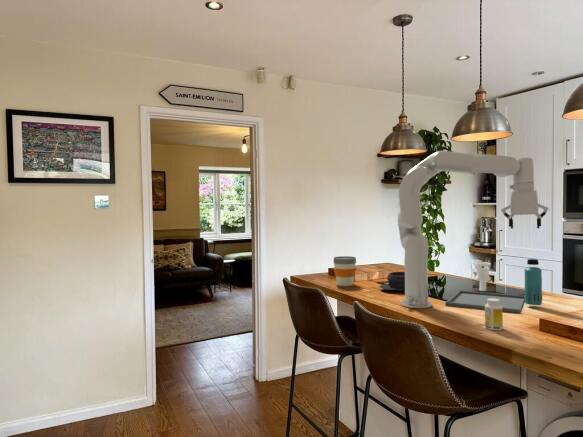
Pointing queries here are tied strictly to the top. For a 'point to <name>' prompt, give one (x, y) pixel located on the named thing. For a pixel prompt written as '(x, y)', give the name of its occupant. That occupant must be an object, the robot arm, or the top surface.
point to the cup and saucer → (395, 282)
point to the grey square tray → (485, 300)
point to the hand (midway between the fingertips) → (524, 228)
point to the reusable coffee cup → (344, 270)
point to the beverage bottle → (533, 284)
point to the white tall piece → (482, 273)
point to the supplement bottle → (493, 314)
